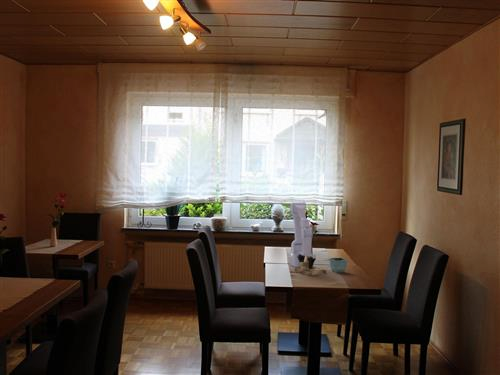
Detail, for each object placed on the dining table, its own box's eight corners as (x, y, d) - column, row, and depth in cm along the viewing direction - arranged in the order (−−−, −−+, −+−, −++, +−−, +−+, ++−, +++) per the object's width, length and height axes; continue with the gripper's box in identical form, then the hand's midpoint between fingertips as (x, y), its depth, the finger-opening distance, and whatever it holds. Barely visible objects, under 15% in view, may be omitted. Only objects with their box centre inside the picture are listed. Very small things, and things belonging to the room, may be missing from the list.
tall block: (299, 271, 304) (299, 262, 304) (309, 270, 310) (309, 260, 309) (302, 272, 302) (302, 263, 302) (312, 270, 308) (312, 261, 308)
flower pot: (334, 274, 303) (335, 260, 303) (328, 271, 312) (329, 257, 311) (347, 274, 306) (347, 260, 305) (341, 271, 314) (341, 257, 314)
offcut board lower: (306, 273, 299) (306, 271, 299) (317, 271, 305) (317, 270, 305) (311, 275, 295) (311, 273, 295) (322, 273, 301) (323, 271, 301)
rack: (294, 273, 304) (294, 268, 304) (310, 270, 313) (310, 266, 313) (310, 277, 293) (310, 272, 293) (326, 274, 302) (326, 270, 302)
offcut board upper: (309, 272, 299) (309, 270, 299) (316, 270, 304) (316, 268, 304) (314, 273, 296) (314, 271, 296) (321, 271, 302) (321, 269, 302)
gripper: (294, 245, 308) (293, 266, 309) (310, 248, 297) (309, 270, 298) (302, 244, 313) (301, 265, 313) (318, 247, 301) (317, 269, 302)
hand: (306, 267), depth 306 cm, fingers open, 7 cm apart
